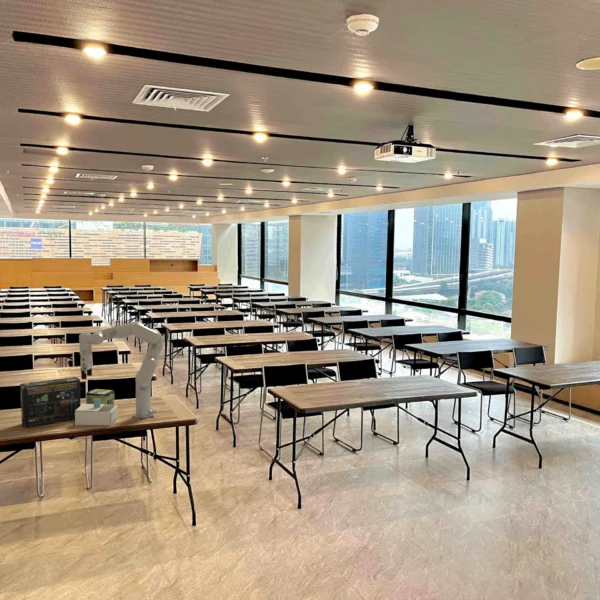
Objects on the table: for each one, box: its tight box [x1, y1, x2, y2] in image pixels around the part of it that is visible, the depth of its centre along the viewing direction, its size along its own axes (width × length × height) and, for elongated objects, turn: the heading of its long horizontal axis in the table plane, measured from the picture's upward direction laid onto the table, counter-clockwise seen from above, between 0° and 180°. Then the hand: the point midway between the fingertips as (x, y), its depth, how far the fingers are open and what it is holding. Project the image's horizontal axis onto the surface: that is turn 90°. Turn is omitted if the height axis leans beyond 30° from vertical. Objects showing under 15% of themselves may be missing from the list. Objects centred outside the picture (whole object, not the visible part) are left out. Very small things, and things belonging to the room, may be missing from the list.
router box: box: [19, 376, 82, 429], centre depth 369 cm, size 36×11×27 cm, turn 126°
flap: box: [75, 399, 105, 412], centre depth 370 cm, size 14×15×6 cm
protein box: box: [85, 388, 115, 405], centre depth 388 cm, size 10×16×16 cm
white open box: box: [74, 404, 119, 427], centre depth 371 cm, size 23×16×9 cm
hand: (86, 377), depth 374 cm, fingers open, 9 cm apart
